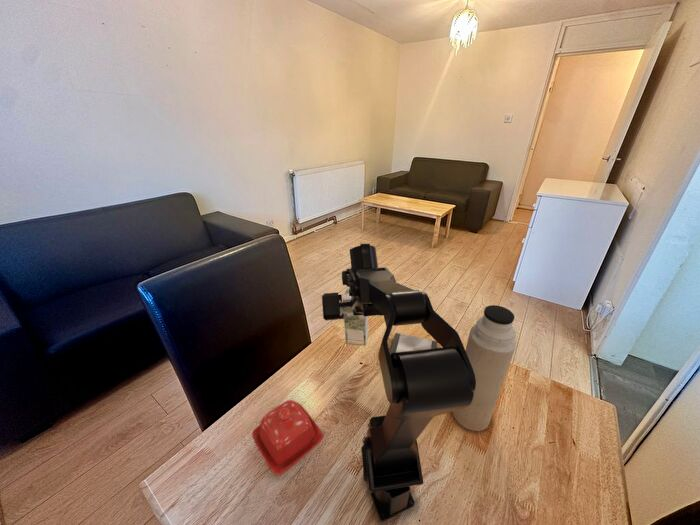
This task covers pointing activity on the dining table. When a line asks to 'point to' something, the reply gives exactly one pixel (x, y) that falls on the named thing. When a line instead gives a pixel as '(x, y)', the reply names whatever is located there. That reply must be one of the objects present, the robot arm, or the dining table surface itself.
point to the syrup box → (355, 325)
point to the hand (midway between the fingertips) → (357, 309)
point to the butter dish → (286, 436)
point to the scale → (411, 343)
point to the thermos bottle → (488, 364)
